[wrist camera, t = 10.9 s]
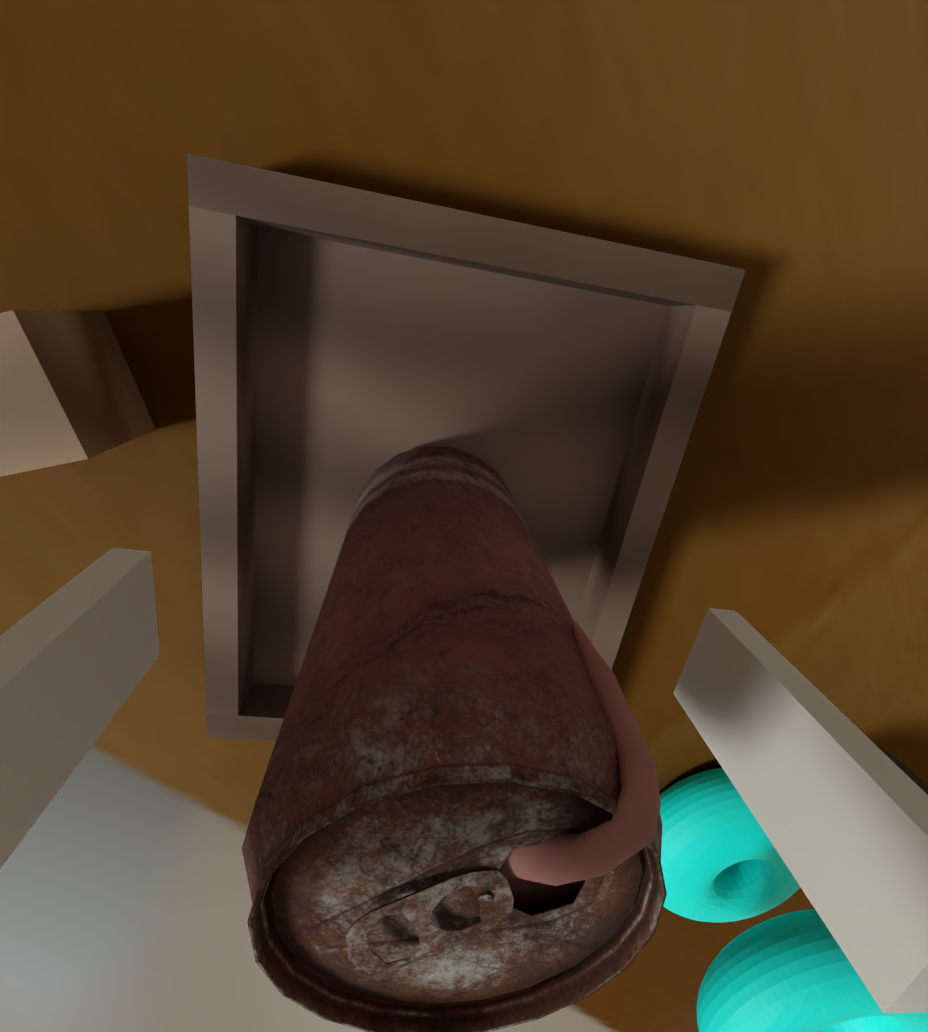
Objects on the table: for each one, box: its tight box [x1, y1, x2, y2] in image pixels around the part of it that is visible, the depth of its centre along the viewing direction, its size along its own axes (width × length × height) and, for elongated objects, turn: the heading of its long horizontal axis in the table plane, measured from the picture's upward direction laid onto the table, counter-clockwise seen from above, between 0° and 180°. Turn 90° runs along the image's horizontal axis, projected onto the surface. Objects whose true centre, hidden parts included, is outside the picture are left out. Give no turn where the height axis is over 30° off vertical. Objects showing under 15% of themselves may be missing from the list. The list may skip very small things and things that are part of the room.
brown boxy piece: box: [0, 310, 156, 477], centre depth 15 cm, size 4×4×4 cm
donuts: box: [660, 768, 928, 1032], centre depth 24 cm, size 10×10×10 cm
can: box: [242, 446, 667, 1032], centre depth 13 cm, size 6×6×14 cm
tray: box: [187, 153, 746, 740], centre depth 19 cm, size 20×16×2 cm
